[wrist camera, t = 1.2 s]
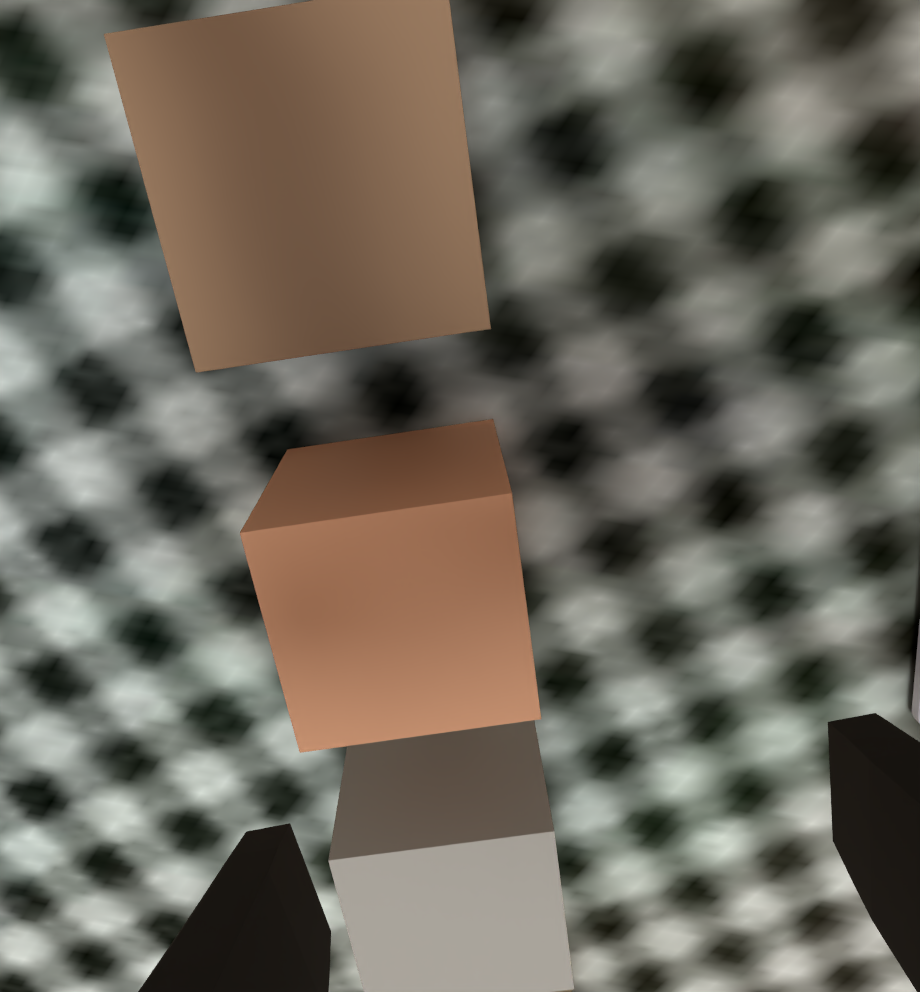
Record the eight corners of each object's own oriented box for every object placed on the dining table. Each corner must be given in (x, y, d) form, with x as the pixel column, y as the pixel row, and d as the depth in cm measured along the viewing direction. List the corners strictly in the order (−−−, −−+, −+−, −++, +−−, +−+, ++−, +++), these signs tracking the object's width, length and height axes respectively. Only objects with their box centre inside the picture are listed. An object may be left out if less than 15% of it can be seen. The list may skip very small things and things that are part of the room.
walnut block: (443, 40, 16) (446, -21, 11) (476, 291, 18) (490, 328, 13) (201, 78, 16) (103, 33, 11) (258, 323, 18) (195, 372, 13)
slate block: (529, 693, 22) (554, 831, 17) (547, 830, 23) (574, 989, 19) (352, 717, 22) (328, 860, 17) (383, 851, 24) (370, 1014, 19)
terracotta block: (492, 418, 19) (512, 493, 14) (516, 599, 21) (541, 719, 16) (287, 448, 19) (239, 532, 14) (330, 626, 21) (299, 752, 16)
